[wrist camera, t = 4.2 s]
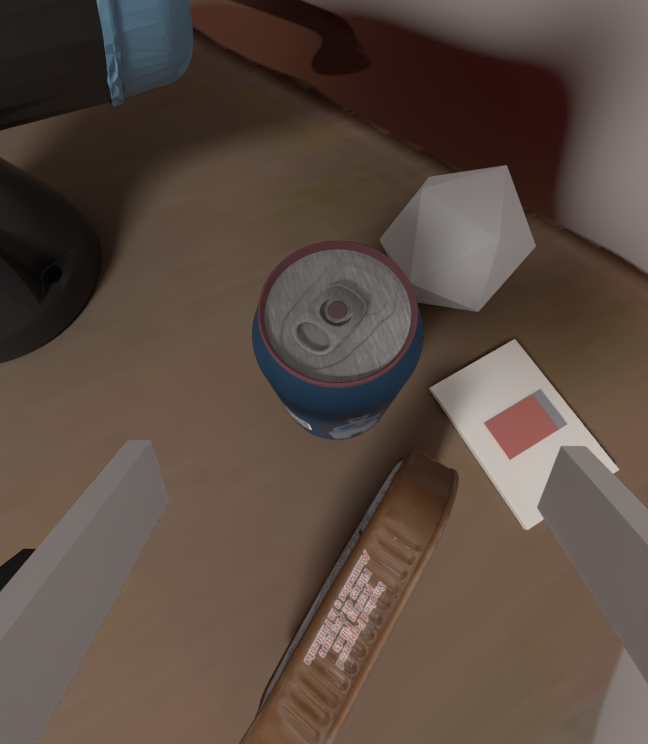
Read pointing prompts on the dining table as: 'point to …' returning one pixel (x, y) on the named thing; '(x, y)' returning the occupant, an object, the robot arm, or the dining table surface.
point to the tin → (356, 607)
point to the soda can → (337, 336)
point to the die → (460, 237)
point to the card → (513, 425)
